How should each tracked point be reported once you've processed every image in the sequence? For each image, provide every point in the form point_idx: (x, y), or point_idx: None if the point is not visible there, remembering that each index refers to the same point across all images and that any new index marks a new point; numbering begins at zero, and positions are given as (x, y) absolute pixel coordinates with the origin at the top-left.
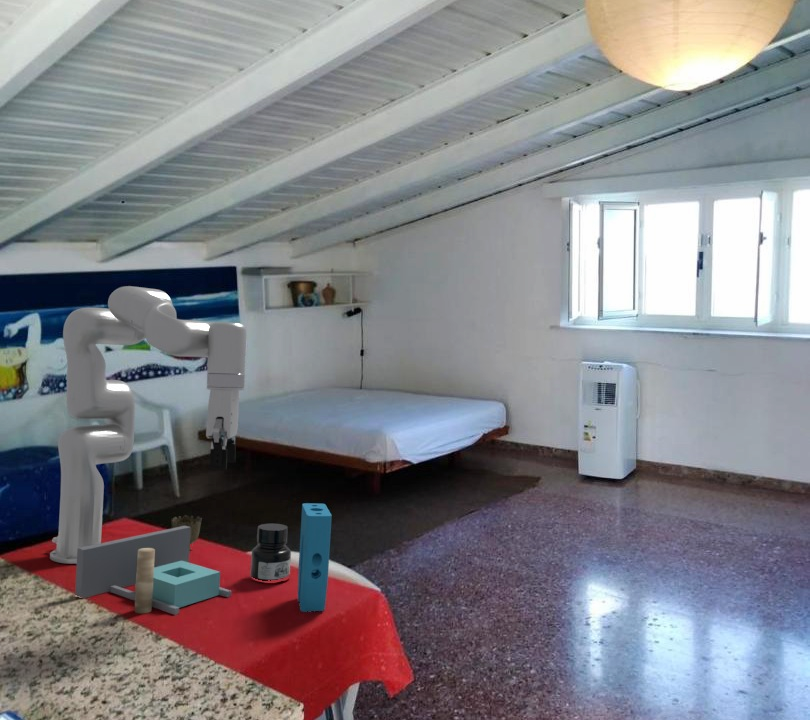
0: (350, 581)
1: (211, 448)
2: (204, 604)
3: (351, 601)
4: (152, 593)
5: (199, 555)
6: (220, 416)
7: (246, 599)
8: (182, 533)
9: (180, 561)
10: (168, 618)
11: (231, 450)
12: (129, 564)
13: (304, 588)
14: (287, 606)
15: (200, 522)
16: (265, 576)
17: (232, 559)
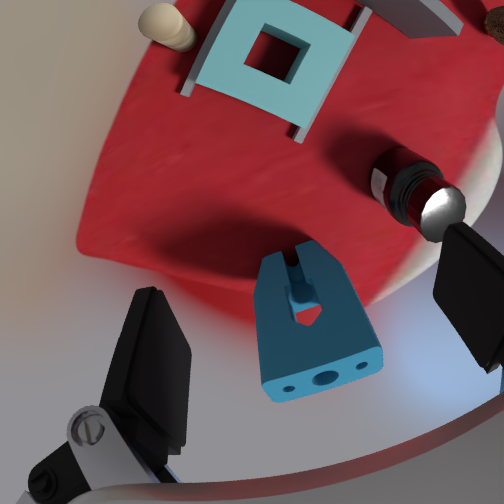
0: (392, 279)
1: (76, 417)
2: (246, 115)
3: None
4: (183, 47)
5: (472, 48)
6: None
7: (291, 170)
8: (437, 21)
9: (348, 35)
10: (164, 92)
11: (471, 332)
12: None
13: (255, 285)
14: (277, 236)
15: None
16: (373, 182)
17: (468, 100)
